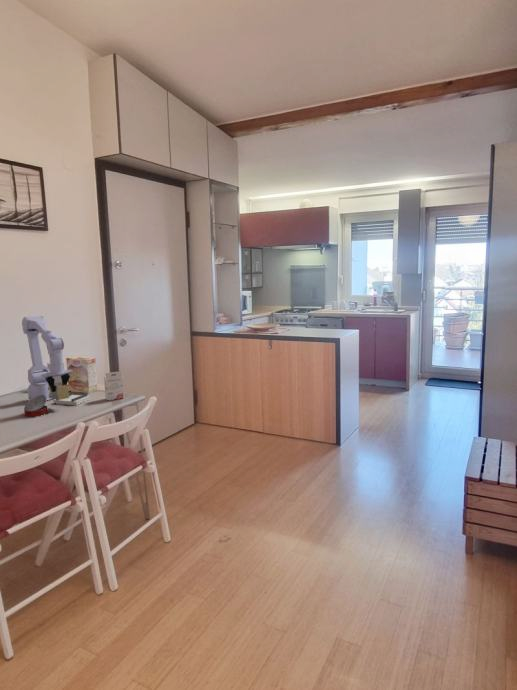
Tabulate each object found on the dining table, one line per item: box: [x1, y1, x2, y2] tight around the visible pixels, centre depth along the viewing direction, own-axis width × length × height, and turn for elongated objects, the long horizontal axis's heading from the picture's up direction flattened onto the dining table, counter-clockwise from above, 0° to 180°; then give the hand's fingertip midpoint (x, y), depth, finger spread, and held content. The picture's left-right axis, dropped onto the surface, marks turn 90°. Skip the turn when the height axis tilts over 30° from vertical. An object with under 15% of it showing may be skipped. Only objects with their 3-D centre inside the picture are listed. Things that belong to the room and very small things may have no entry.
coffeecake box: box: [65, 355, 98, 394], centre depth 255 cm, size 15×7×20 cm, turn 68°
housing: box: [48, 382, 70, 400], centre depth 221 cm, size 10×5×6 cm, turn 48°
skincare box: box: [46, 362, 65, 388], centre depth 265 cm, size 8×6×15 cm
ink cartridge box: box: [103, 371, 124, 401], centre depth 238 cm, size 9×5×15 cm, turn 118°
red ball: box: [24, 395, 49, 418], centre depth 213 cm, size 11×10×10 cm
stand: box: [52, 392, 92, 406], centre depth 234 cm, size 14×11×3 cm
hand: (58, 390), depth 221 cm, fingers closed on housing, 5 cm apart
